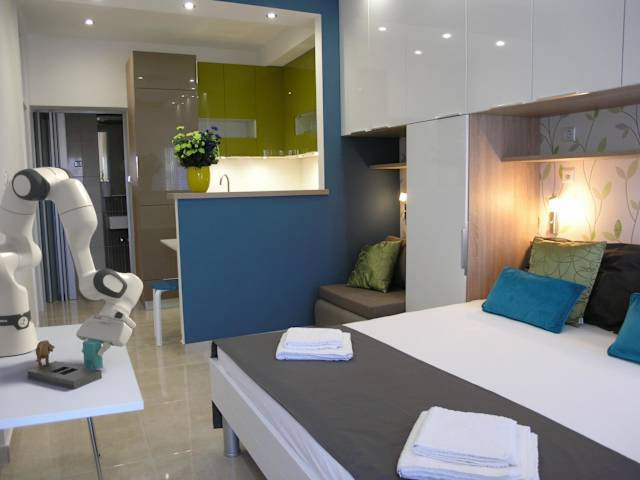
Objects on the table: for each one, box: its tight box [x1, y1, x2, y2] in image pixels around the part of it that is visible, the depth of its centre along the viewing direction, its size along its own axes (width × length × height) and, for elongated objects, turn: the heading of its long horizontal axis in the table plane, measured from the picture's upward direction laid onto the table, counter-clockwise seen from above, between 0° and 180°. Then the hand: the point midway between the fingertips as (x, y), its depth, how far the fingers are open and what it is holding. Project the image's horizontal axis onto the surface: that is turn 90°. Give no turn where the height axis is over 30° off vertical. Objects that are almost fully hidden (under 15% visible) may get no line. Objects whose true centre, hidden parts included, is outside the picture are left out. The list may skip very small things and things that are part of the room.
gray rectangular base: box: [27, 360, 103, 390], centre depth 174 cm, size 21×10×2 cm, turn 63°
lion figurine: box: [35, 339, 55, 367], centre depth 189 cm, size 15×5×9 cm, turn 37°
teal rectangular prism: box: [82, 340, 104, 370], centre depth 183 cm, size 5×3×8 cm, turn 63°
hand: (91, 354), depth 183 cm, fingers closed on teal rectangular prism, 5 cm apart
